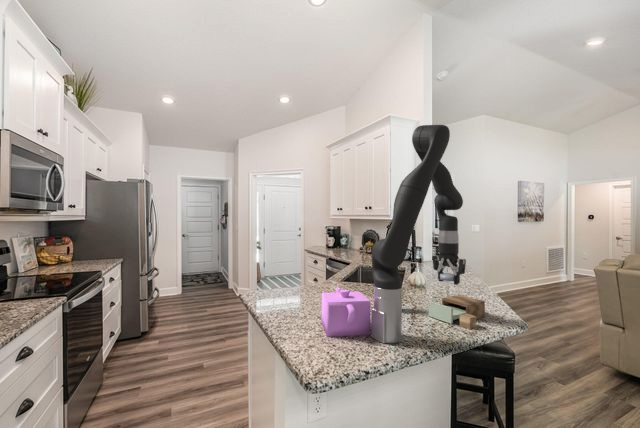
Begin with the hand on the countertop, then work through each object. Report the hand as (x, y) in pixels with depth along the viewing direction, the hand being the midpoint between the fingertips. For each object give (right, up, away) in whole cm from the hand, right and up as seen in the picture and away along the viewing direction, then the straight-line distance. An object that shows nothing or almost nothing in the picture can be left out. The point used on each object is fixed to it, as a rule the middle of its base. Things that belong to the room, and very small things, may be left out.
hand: (448, 282), depth 117 cm
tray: (+1, -14, 0) cm, 14 cm away
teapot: (-44, -14, -11) cm, 47 cm away
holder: (+8, -15, +5) cm, 18 cm away
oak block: (+3, -14, -9) cm, 17 cm away
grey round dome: (0, +1, 0) cm, 1 cm away
